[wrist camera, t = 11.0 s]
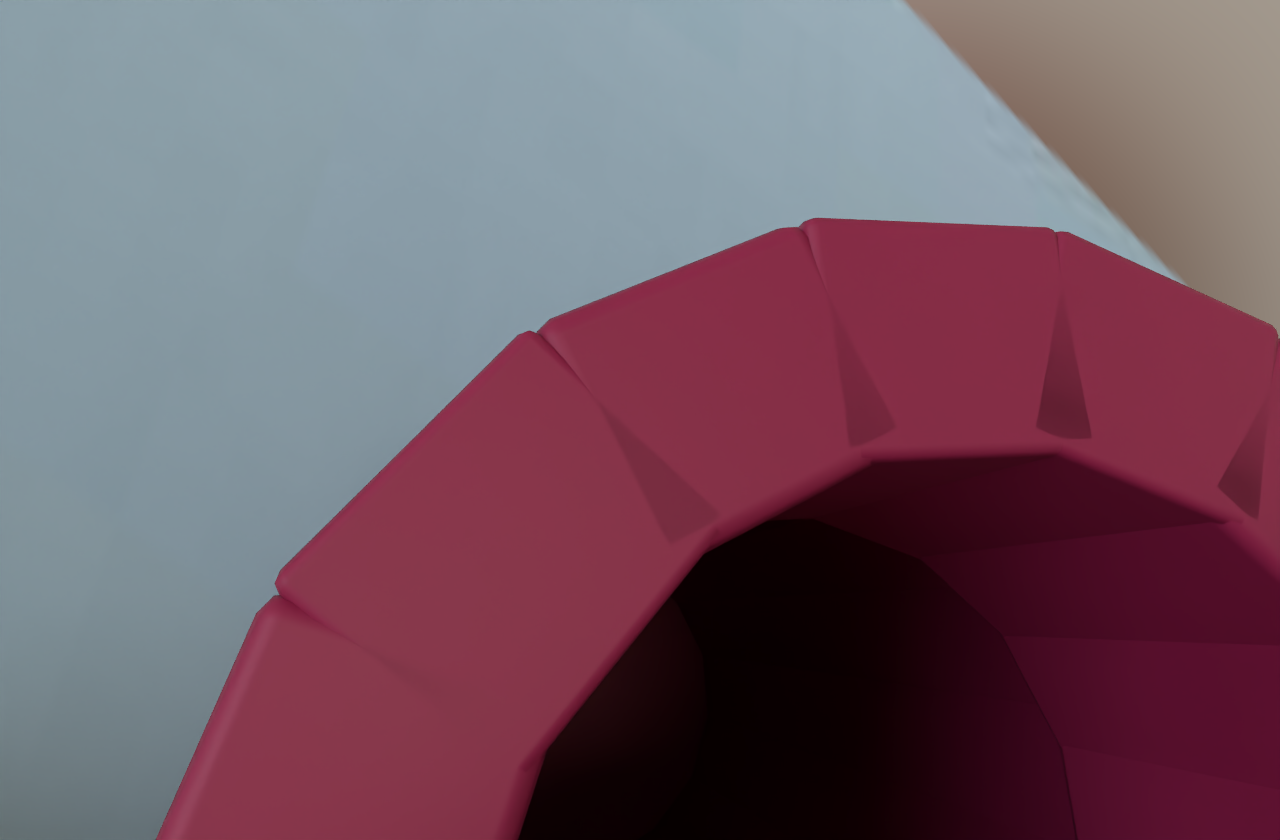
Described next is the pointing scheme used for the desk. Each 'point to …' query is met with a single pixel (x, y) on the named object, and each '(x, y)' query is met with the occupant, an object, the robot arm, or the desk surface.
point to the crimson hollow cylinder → (798, 569)
